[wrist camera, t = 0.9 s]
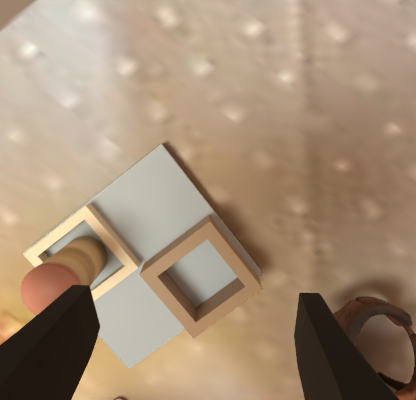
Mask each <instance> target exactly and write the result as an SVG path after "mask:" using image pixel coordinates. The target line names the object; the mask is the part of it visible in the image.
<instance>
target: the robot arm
mask: <svg viewBox="0 0 416 400" xmlns="http://www.w3.org/2000/svg"><path fill="white" fill-rule="evenodd" d="M99 330H100V323H99V319H98V316H97V312H96V308H95V304H94V301H93V297H92V293H91V289H90V285H72V286H71V287H70V288H68V289H67V290H66V291H65V292H64V293H62V294H61V295H60V296H59V297H58V298H57V299H55V300H54V301H53V302H52V303H51V304H50V305H48V306H47V307H46V308H45V309H44V310H43V311H42V312H40V313H39V314H38V315H37V316H36V317H34V318H33V319H32V320H31V321H30V322H29V323H27V324H26V325H25V326H24V327H23V328H21V329H20V330H19V331H18V332H17V333H15V334H14V335H13V336H11V337H10V338H9V339H8V340H6V341H5V342H4V343H2V344H1V345H0V400H71V399H72V396H73V394H74V392H75V390H76V388H77V386H78V384H79V381H80V379H81V377H82V375H83V373H84V370H85V368H86V366H87V364H88V362H89V359H90V357H91V355H92V352H93V349H94V346H95V343H96V340H97V336H98V333H99ZM294 338H295V347H296V356H297V364H298V370H299V374H300V379H301V383H302V388H303V392H304V397H305V400H400V399H399V398H398V397H397V396H396V395H395V394H394V393H393V392H392V391H391V389H390V388H389V387H388V386H387V385H386V384H385V382H384V381H383V380H382V379H381V378H380V376H379V375H378V374H377V373H376V372H375V370H374V369H373V368H372V367H371V366H370V364H369V363H368V362H367V360H366V359H365V358H364V357H363V355H362V354H361V353H360V351H359V350H358V349H357V347H356V346H355V345H354V343H353V342H352V341H351V339H350V338H349V337H348V335H347V334H346V332H345V331H344V330H343V328H342V327H341V325H340V324H339V322H338V321H337V319H336V318H335V316H334V315H333V313H332V312H331V310H330V309H329V307H328V306H327V304H326V303H325V301H324V299H323V298H322V296H321V295H320V294H319V293H300V294H299V302H298V310H297V318H296V326H295V333H294ZM116 400H122V399H116Z"/></svg>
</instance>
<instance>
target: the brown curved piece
mask: <svg viewBox="0 0 416 400" xmlns="http://www.w3.org/2000/svg"><path fill="white" fill-rule="evenodd" d="M381 314H383V315H386V316H387V317H388V318H389V319H390V320H391V321H392V322H393V323H394V324H396V325H397V326H403V327H404V328H405V330H406V331H407V333H408V335H409V338H410V340H411V343H412V346H413V350H414V356H415V366H414V373H413V376H412V379H411V381H410V382H409V384H405V383H403V382H399V381H395V380H393V379H391V378H389V377H387V376H385V375H384V374H382V373H381V372H378V373H377V374H378V375H379V376H380V378H381V379H382V380H383V381H384V382H385V384H386V385H387V386H388V387H389V388H390V389H391V391H392V392H393V393H394V394H395V395H396V396H397V397H398V398H399V399H400V400H416V334H415V333H414V332H413V330H412V328H411V327H410V326H412V321H411V317H410V315H409V314H408V313H406V312H405V311H403V310H402V309H400V308H397V307H395V306H392V305H390V304H389V303H387V302H385V301H383V300H380V299H377V298H373V297H358V298H356V300H355V301H354V300H351V301H349V302H348V303H346V304H345V306H344V307H342V309H340V310H339V311H337V312H336V313H334V314H333V315H334V316H335V318H336V319H337V321H338V322H339V324H340V325H341V327H342V328H343V330H344V331H345V332H346V334H347V335H348V337H349V338H350V339H351V341H352V342H353V343H354V345H355V346H356V347H357V340H358V334H359V332H360V329H361V328H362V326H363V325H364V323H365V322H366V321H367V320H368V319H369V318H370V317H372V316H375V315H381Z"/></svg>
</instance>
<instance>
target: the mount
mask: <svg viewBox="0 0 416 400" xmlns="http://www.w3.org/2000/svg"><path fill="white" fill-rule="evenodd" d="M81 236H90V237H93V238H95V239H97V240H99V241H100V242H101V243H102V244H103V245H104V247H105V248H106V251H107V256H108V259H107V263H106V266H105V267H104V269H103V270H102V272H101V273H100V274H99V275H98V277H97V278H96V279H95V281H94V282H93V283H92V285H91V286H90V289H91V293H92V297H93V301H94V304H95V308H96V312H97V316H98V319H99V323H100V330H99V333H98V336H99V337H100V338H101V339H102V340H103V341H104V342H105V344H106V345H107V346H108V347H109V348H110V349H111V350H112V351H113V352H114V353H115V355H116V356H117V357H118V358H119V359H120V360H121V361H122V362H123V363H124V364H125V365H126V367H127V368H128V369H130V368H132V367H133V366H134V365H136V364H137V363H138V362H140V361H141V360H143V359H144V358H145V357H147V356H148V355H150V354H151V353H152V352H154V351H155V350H156V349H158V348H159V347H161V346H162V345H163V344H165V343H166V342H167V341H169V340H170V339H172V338H173V337H174V336H176V335H177V334H179V333H180V332H181V331H183V330H184V329H186V330H187V331H188V332H189V334H190V335H191V336H192V337H193V338H195V337H196V336H198V335H199V334H201V333H202V332H203V331H205V330H206V329H207V328H209V327H210V326H212V325H213V324H214V323H216V322H217V321H219V320H220V319H221V318H223V317H224V316H226V315H227V314H228V313H230V312H231V311H233V310H234V309H235V308H237V307H238V306H239V305H241V304H242V303H244V302H245V301H246V300H248V299H249V298H251V297H252V296H253V295H255V294H256V293H258V292H259V291H260V290H262V289H263V288H262V286H261V283H260V281H259V279H258V277H257V276H259V275H260V274H261V273H262V272H261V270H260V268H259V267H258V266H257V264H256V263H255V262H254V261H253V259H252V258H251V257H250V255H249V254H248V253H247V252H246V250H245V249H244V248H243V246H242V245H241V244H240V243H239V241H238V240H237V239H236V237H235V236H234V235H233V234H232V232H231V231H230V230H229V228H228V227H227V226H226V225H225V223H224V222H223V221H222V219H221V218H220V217H219V216H218V214H217V213H216V212H215V210H214V209H213V208H212V207H211V205H210V204H209V203H208V202H207V200H206V199H205V198H204V196H203V195H202V194H201V193H200V191H199V190H198V189H197V187H196V186H195V185H194V184H193V182H192V181H191V180H190V178H189V177H188V176H187V175H186V173H185V172H184V171H183V169H182V168H181V167H180V166H179V164H178V163H177V162H176V160H175V159H174V158H173V157H172V155H171V154H170V153H169V151H168V150H167V149H166V148H165V146H164V145H163V144H161V145H160V146H158V147H157V148H156V149H154V150H153V151H152V152H151V153H149V154H148V155H147V156H146V157H144V158H143V159H142V160H140V161H139V162H138V163H137V164H135V165H134V166H133V167H132V168H130V169H129V170H128V171H126V172H125V173H124V174H123V175H121V176H120V177H119V178H118V179H116V180H115V181H114V182H113V183H111V184H110V185H109V186H107V187H106V188H105V189H104V190H102V191H101V192H100V193H99V194H97V195H96V196H95V197H93V198H92V199H91V200H90V201H88V202H87V203H86V204H85V205H83V206H82V207H81V208H79V209H78V210H77V211H76V212H74V213H73V214H72V215H71V216H69V217H68V218H67V219H66V220H64V221H63V222H62V223H60V224H59V225H58V226H57V227H55V228H54V229H53V230H52V231H50V232H49V233H48V234H46V235H45V236H44V237H43V238H41V239H40V240H39V241H38V242H36V243H35V244H34V245H32V246H31V247H30V248H29V249H27V250H26V251H25V252H24V253H23V255H24V256H25V257H26V258H27V259H28V260H29V261H30V262H31V264H32V265H33V266H34V267H37V266H38V265H40V264H42V263H43V262H44V261H46V260H47V259H48V258H50V257H51V256H52V255H54V254H55V253H56V252H58V251H59V250H60V249H61V248H63V247H64V246H65V245H67V244H68V243H69V242H71V241H72V240H73V239H75V238H77V237H81Z"/></svg>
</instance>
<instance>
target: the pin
mask: <svg viewBox="0 0 416 400" xmlns="http://www.w3.org/2000/svg"><path fill="white" fill-rule="evenodd" d="M107 259H108V256H107V251H106V248H105V247H104V245H103V244H102V243H101V242H100V241H99V240H97V239H95V238H93V237H90V236H81V237H77V238H75V239H73V240H72V241H71V242H69V243H68V244H67V245H65V246H64V247H63V248H61V249H60V250H59V251H58V252H56V253H55V254H54V255H52V256H51V257H50V258H48V259H47V260H46V261H44V262H43V263H42V264H40V265H38V266H37V267H35V268H34V269H32V270H31V271H30V272H29V273H28V274H27V275H26V276H25V278H24V279H23V281H22V284H21V297H22V300H23V302H24V304H25V306H26V307H27V308H28V309H29V310H30V311H31V312H32V313H33V314H35V315H38V314H39V313H40V312H42V311H43V310H44V309H45V308H46V307H47V306H48V305H50V304H51V303H52V302H53V301H54V300H55V299H57V298H58V297H59V296H60V295H61V294H62V293H64V292H65V291H66V290H67V289H68V288H70V287H71V286H72V285H90V286H91V285H92V283H93V282H94V281H95V279H96V278H97V277H98V275H99V274H100V273H101V272H102V270H103V269H104V267H105V266H106V263H107Z"/></svg>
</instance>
